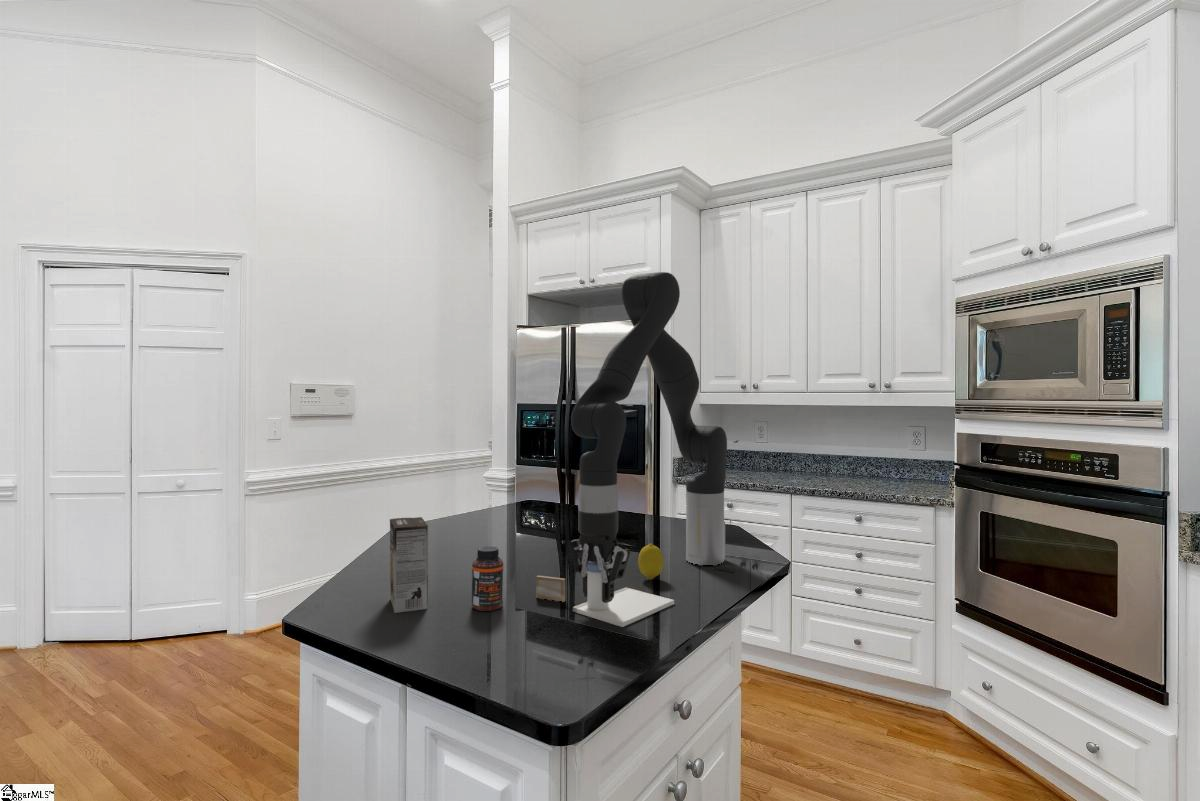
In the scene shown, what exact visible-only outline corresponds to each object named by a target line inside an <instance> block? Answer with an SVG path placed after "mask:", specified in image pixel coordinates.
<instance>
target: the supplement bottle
mask: <svg viewBox="0 0 1200 801" xmlns="http://www.w3.org/2000/svg"><path fill="white" fill-rule="evenodd" d="M499 551H500V550H499V547H497V546H490V545H489V546H488V545H487V546H480V547H478V548H477V554H476V555H477V557H476V558H475V559H474V560H473V561H472V565H471V567H472V568H471V607H472V608H473V609H474V610H476V611H479V612H491V611H498V609H499V610H500V609H501V608H502V607H503V605H504V561H503V559H502V558H500V557H499V554H500V553H499Z"/></svg>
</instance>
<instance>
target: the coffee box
mask: <svg viewBox="0 0 1200 801" xmlns="http://www.w3.org/2000/svg"><path fill="white" fill-rule="evenodd" d="M389 562H390V563H389V565H390V566H389V567H390V568H389V570H390V571H389V572H390V573H389V574H390V577H389V578H390V581H389V582H390V583H389V584H390V586H389V587H390V601H391V605H392V608H393V613H394V614H397V613H398V614H399V613H405V612H406V613H407V612H413V611H421V610H427V609H429V593H428V592H429V525H428V524H427V523H426V521H425V519H424V518H423V517H421V516H420V517H418V516H417V517H397V518H390V519H389Z"/></svg>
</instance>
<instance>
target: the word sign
mask: <svg viewBox="0 0 1200 801" xmlns="http://www.w3.org/2000/svg"><path fill="white" fill-rule="evenodd" d="M535 580H536V581H535V582H536V583H535V584H536V585H535V587H536V588H535V598H539V599H538V600H544V599H547V600H546V601H552V600H554V601H553V602H559V601H562V602H561V603H564V602H565V601H566V578H565V577H564V578H561V577H554V576H546V575H535Z"/></svg>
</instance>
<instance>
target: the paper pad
mask: <svg viewBox="0 0 1200 801" xmlns="http://www.w3.org/2000/svg"><path fill="white" fill-rule="evenodd" d="M673 605H675V600H674V599H671V598H667V597H663V596H660V595H656V594H652V593H648V592H645V591H641V590H638V589H634V588H629V587H624V588H620V589H618V590H614V598H613V599H612V601H610V602H609V607H608V608H607V609H604V610H592V609H589V608H588V607H587V601H586V602H583V603H580V604H577V605H575V606H573V607H572V612H573V613H576V614H579V615H583V616H587V617H588V618H593V619H596V620H599V621H602V622H605V623H607V624H611V625H615V626H618V627H620V628H624V627H625V626H629V625H631V624H633V623H635V622H637V621H639V620H642V619H644V618H647V617H648V616H650V615H651V616H652V615H653V614H655V613H657V612H660V611H661V610H664V609H666V608H668V607H671V606H673Z"/></svg>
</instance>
